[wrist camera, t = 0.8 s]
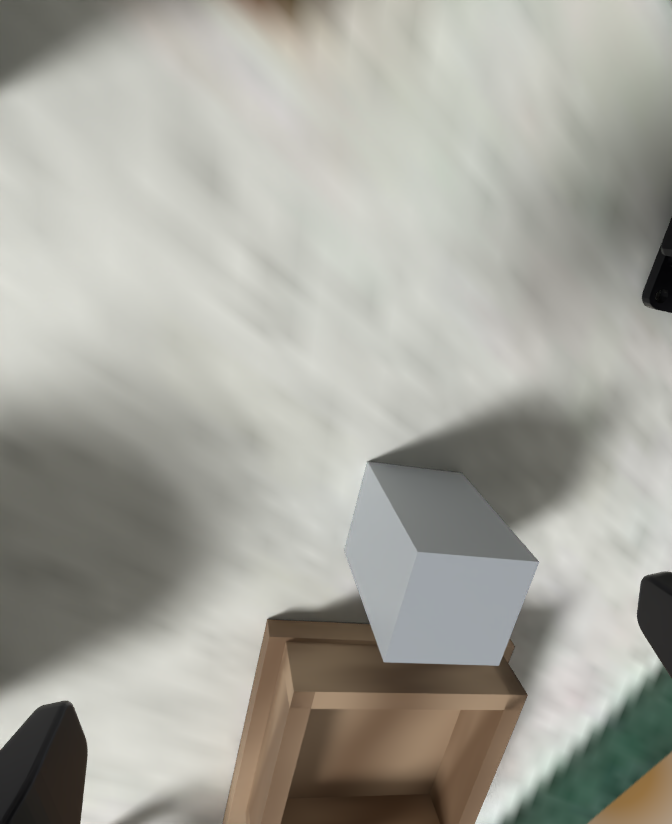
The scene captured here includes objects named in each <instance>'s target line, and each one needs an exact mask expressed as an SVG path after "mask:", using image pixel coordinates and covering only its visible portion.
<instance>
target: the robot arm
mask: <svg viewBox="0 0 672 824" xmlns="http://www.w3.org/2000/svg"><path fill="white" fill-rule="evenodd" d="M659 290H660V296H659V298H658V299H657V300H656V299H655V297H656V294H657V292H658V291H659ZM642 301H643V303H644V305H645V306H647V307H649V308H653V309H657V310H661V311H666V312H670V313H672V218H671V221H670V223H669V226H668V228H667V231H666V233H665V236H664V239H663V241H662V244H661V246H660V249H659V252H658V254H657V257H656V259H655V262H654V265H653V267H652V270H651V272H650V275H649V278H648V280H647V283H646V285H645V288H644V291H643V294H642ZM637 619H638V623H639V626H640V629H641V630H642V632H643V634H644V635H645V637H646V639H647V640H648V642H649V643H650V645H651V646H652V648H653V650H654V651H655V653H656V654H657V656H658V658H659V659H660V661H661V662H662V664H663V665H664V667H665V669H666V670H667V672H668V673H669V675H670V676H671V678H672V572H660V573H655V574H650V575H647V576H645V577H644V578H643V579H642V581H641V585H640V593H639V601H638V610H637ZM86 765H87V742H86V738H85V735H84V733H83V730H82V727H81V725H80V722H79V719H78V717H77V714H76V711H75V709H74V707H73V705H72V703H71V702H69V701H61V702H56V703H51V704H47V705H43V706H40V707H39V708H37V709H36V710H35V711H34V712H33V713H32V715H31V716H30V717H29V718H28V719H27V720H26V721H25V723H24V724H23V725H22V726H21V727H20V728H19V729H18V731H17V732H16V733H15V734H14V735H13V736H12V737H11V739H10V740H9V741H8V742H7V743H6V744H5V745H4V747H3V748H2V749H1V750H0V824H80V821H81V812H82V803H83V793H84V784H85V775H86Z"/></svg>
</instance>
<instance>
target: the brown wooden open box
mask: <svg viewBox="0 0 672 824" xmlns="http://www.w3.org/2000/svg"><path fill="white" fill-rule="evenodd" d="M514 647H515V646H514V644H513V643H512V641H511V640H510V639H509V641H508V644H507V646H506V649H505V651H504V654H503V657H502V659H501V662H500V664H499V666H490V665H457V664H424V663H391V662H383V659H382V656H381V653H380V650H379V648H378V645H377V642H376V639H375V636H374V633H373V631H372V628H371V625H370V624H354V623H333V622H312V621H291V620H269V619H267V623H266V628H265V632H264V637H263V641H262V646H261V650H260V655H259V660H258V664H257V669H256V673H255V678H254V682H253V687H252V691H251V696H250V700H249V705H248V710H247V714H246V719H245V723H244V728H243V732H242V737H241V741H240V746H239V751H238V755H237V760H236V764H235V769H234V773H233V778H232V782H231V787H230V791H229V796H228V801H227V805H226V810H225V814H224V819H223V823H222V824H475V822H476V819H477V817H478V814H479V812H480V809H481V807H482V805H483V802H484V800H485V797H486V795H487V792H488V790H489V788H490V785H491V783H492V780H493V778H494V776H495V773H496V771H497V768H498V766H499V763H500V761H501V759H502V756H503V754H504V751H505V749H506V746H507V744H508V742H509V739H510V737H511V734H512V732H513V730H514V727H515V725H516V722H517V720H518V717H519V715H520V713H521V710H522V708H523V705H524V703H525V700H526V698H527V696H528V695H527V693H526V691H525V690H524V688H523V687H522V685H521V683H520V682H519V680H518V678H517V677H516V675H515V674H514V672H513V670H512V669H511V667H510V666H509V664H508V663H509V660H510V658H511V655H512V652H513V650H514Z"/></svg>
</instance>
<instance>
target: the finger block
mask: <svg viewBox="0 0 672 824" xmlns="http://www.w3.org/2000/svg"><path fill="white" fill-rule="evenodd" d="M344 552H345V555H346V557H347V560H348V563H349V566H350V569H351V571H352V574H353V577H354V580H355V583H356V586H357V588H358V591H359V594H360V597H361V600H362V602H363V605H364V608H365V611H366V614H367V617H368V619H369V622H370V625H371V628H372V631H373V633H374V636H375V639H376V642H377V645H378V648H379V650H380V653H381V656H382V659H383V662H391V663H424V664H457V665H490V666H499V664H500V662H501V659H502V657H503V654H504V651H505V649H506V646H507V644H508V641H509V639H510V636H511V633H512V631H513V628H514V626H515V623H516V620H517V618H518V615H519V613H520V610H521V608H522V605H523V602H524V600H525V597H526V595H527V592H528V590H529V587H530V584H531V582H532V579H533V577H534V574H535V571H536V569H537V566H538V564H539V561H538V560H537V559H536V558H535V557H534V555H533V554H532V553H531V552H530V551H529V550H528V549H527V547H526V546H525V545H524V544H523V543H522V542H521V540H520V539H519V538H518V537H517V536H516V535H515V534H514V532H513V531H512V530H511V529H510V528H509V527H508V525H507V524H506V523H505V522H504V521H503V520H502V519H501V517H500V516H499V515H498V514H497V513H496V512H495V510H494V509H493V508H492V507H491V506H490V505H489V504H488V502H487V501H486V500H485V499H484V498H483V497H482V496H481V494H480V493H479V492H478V491H477V490H476V489H475V487H474V486H473V485H472V484H471V483H470V482H469V481H468V479H467V478H466V477H465V476H464V475H463V474H462V473H458V472H450V471H442V470H434V469H426V468H418V467H410V466H401V465H393V464H385V463H377V462H369V461H367V464H366V468H365V472H364V476H363V480H362V484H361V487H360V491H359V495H358V499H357V503H356V507H355V511H354V514H353V518H352V522H351V526H350V530H349V534H348V538H347V541H346V545H345V549H344Z"/></svg>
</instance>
